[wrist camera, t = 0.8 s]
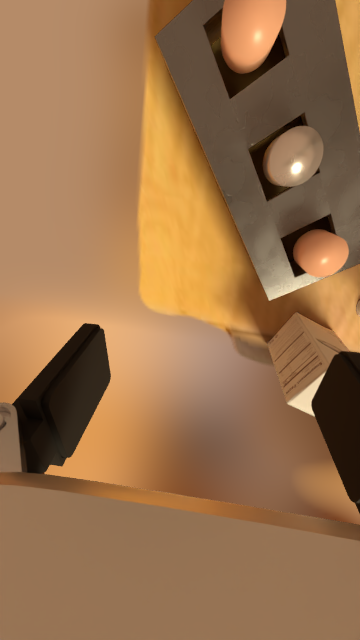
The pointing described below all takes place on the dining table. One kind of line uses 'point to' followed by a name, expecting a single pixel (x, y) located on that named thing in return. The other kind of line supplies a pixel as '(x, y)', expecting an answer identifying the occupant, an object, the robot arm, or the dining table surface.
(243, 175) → the knob housing
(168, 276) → the dining table surface
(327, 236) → the far knob
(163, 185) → the dining table surface
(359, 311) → the chalice
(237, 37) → the near knob
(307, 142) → the middle knob
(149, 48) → the dining table surface
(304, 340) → the supplement box
